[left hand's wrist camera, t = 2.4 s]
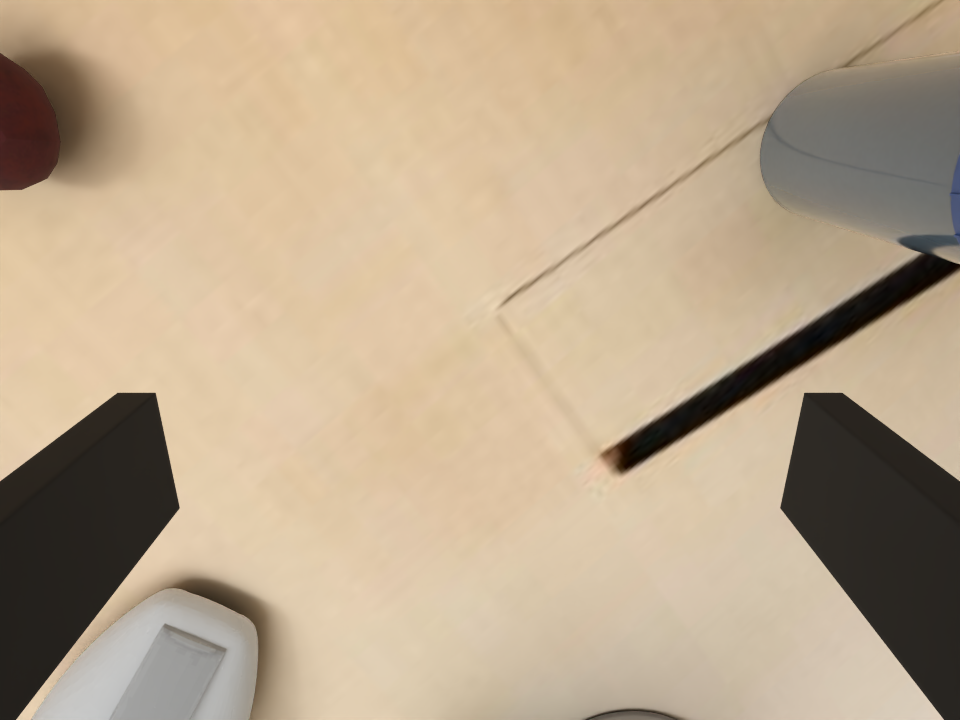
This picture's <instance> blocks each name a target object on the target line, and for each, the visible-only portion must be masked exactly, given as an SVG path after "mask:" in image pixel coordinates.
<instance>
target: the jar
mask: <svg viewBox="0 0 960 720" xmlns="http://www.w3.org/2000/svg"><path fill="white" fill-rule="evenodd" d="M959 153H960V51H955V52H948V53H942V54H935V55H928V56H921V57H914V58H907V59H900V60H893V61H886V62H879V63H872V64H865V65H858V66H851V67H844V68H837V69H832V70H828V71H824V72H822V73H819V74H817V75H815V76H813V77H811V78H809V79H807V80H805V81H804V82H803V83H801V84H800V85H798V86H797V87H796V88H795V89H793V90H792V91H791V92H790V93H789V94H788V95H787V96H786V97H785V98H784V100H783V101H782V102H781V103H780V104H779V106H778V107H777V109H776V110H775V111H774V113H773V115H772V117H771V119H770V120H769V122H768V125H767V127H766V130H765V132H764V136H763V139H762V145H761V151H760V165H761V172H762V176H763V180H764V182H765V185H766V187H767V189H768V191H769V193H770V194H771V196H772V197H773V198H774V199H775V201H776V202H777V203H778V204H779V205H781V206H782V207H783V208H785V209H786V210H788V211H789V212H791V213H793V214H796V215H798V216H802V217H805V218H808V219H812V220H815V221H818V222H822V223H825V224H828V225H832V226H835V227H838V228H842V229H845V230H848V231H852V232H855V233H858V234H862V235H865V236H868V237H871V238H875V239H878V240H881V241H885V242H888V243H891V244H895V245H898V246H901V247H905V248H908V249H911V250H915V251H918V252H921V253H925V254H928V255H931V256H935V257H938V258H941V259H945V260H948V261H951V262H955V263H958V264H960V245H959V243H958V241H957V238H955V237H954V235H955V231H954V228H953V223H952V215H951V204H950V202H951V196H949V194H950V193H951V188H952V181H953V174H954V170H955V167H956V163H957V160H958V156H959Z"/></svg>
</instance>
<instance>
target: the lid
mask: <svg viewBox="0 0 960 720" xmlns="http://www.w3.org/2000/svg"><path fill="white" fill-rule="evenodd" d="M949 196H951V202H950V204H951V215H952V223H953V228H954V231H955V235H954V237H955V238H957V241H958V243H959V245H960V153H959V156H958V160H957V163H956V167H955V170H954V174H953V181H952V188H951V193H950V194H949Z"/></svg>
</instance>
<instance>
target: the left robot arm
mask: <svg viewBox="0 0 960 720" xmlns="http://www.w3.org/2000/svg"><path fill="white" fill-rule="evenodd" d="M179 508H180V507H179V503H178V498H177V493H176V488H175V484H174V479H173V474H172V469H171V464H170V460H169V455H168V450H167V445H166V440H165V436H164V431H163V426H162V421H161V417H160V412H159V407H158V402H157V397H156V393H117V394H116V395H114V396H113V397H112V398H110V399H109V400H108V401H106V402H105V403H104V404H102V405H101V406H100V407H98V408H97V409H96V410H94V411H93V412H92V413H90V414H89V415H88V416H86V417H85V418H84V419H82V420H81V421H80V422H78V423H77V424H76V425H74V426H73V427H72V428H70V429H69V430H68V431H66V432H65V433H64V434H63V435H61V436H60V437H59V438H57V439H56V440H55V441H53V442H52V443H51V444H49V445H48V446H47V447H45V448H44V449H43V450H41V451H40V452H39V453H37V454H36V455H35V456H33V457H32V458H31V459H29V460H28V461H27V462H25V463H24V464H23V465H21V466H20V467H19V468H17V469H16V470H15V471H13V472H12V473H11V474H9V475H8V476H7V477H5V478H4V479H3V480H1V481H0V720H16V719H17V718H18V716H19V715H20V714H21V712H22V711H23V710H24V709H25V707H26V706H27V705H28V703H29V702H30V701H31V700H32V698H33V697H34V696H35V694H36V693H37V692H38V690H39V689H40V688H41V687H42V685H43V684H44V683H45V681H46V680H47V679H48V678H49V676H50V675H51V674H52V672H53V671H54V670H55V668H56V667H57V666H58V665H59V663H60V662H61V661H62V659H63V658H64V657H65V656H66V654H67V653H68V652H69V650H70V649H71V648H72V647H73V645H74V644H75V643H76V641H77V640H78V639H79V637H80V636H81V635H82V634H83V632H84V631H85V630H86V628H87V627H88V626H89V625H90V623H91V622H92V621H93V619H94V618H95V617H96V616H97V614H98V613H99V612H100V610H101V609H102V608H103V606H104V605H105V604H106V603H107V601H108V600H109V599H110V597H111V596H112V595H113V594H114V592H115V591H116V590H117V588H118V587H119V586H120V584H121V583H122V582H123V581H124V579H125V578H126V577H127V575H128V574H129V573H130V572H131V570H132V569H133V568H134V566H135V565H136V564H137V563H138V561H139V560H140V559H141V557H142V556H143V555H144V553H145V552H146V551H147V550H148V548H149V547H150V546H151V544H152V543H153V542H154V541H155V539H156V538H157V537H158V535H159V534H160V533H161V531H162V530H163V529H164V528H165V526H166V525H167V524H168V522H169V521H170V520H171V519H172V517H173V516H174V515H175V513H176V512H177V511H178V510H179ZM780 508H781V510H782V511H783V512H784V513H785V515H786V516H787V517H788V519H789V520H790V521H791V522H792V524H793V525H794V526H795V528H796V529H797V530H798V531H799V533H800V534H801V535H802V537H803V538H804V539H805V541H806V542H807V543H808V544H809V546H810V547H811V548H812V550H813V551H814V552H815V553H816V555H817V556H818V557H819V559H820V560H821V561H822V563H823V564H824V565H825V566H826V568H827V569H828V570H829V572H830V573H831V574H832V575H833V577H834V578H835V579H836V581H837V582H838V583H839V584H840V586H841V587H842V588H843V590H844V591H845V592H846V594H847V595H848V596H849V597H850V599H851V600H852V601H853V603H854V604H855V605H856V606H857V608H858V609H859V610H860V612H861V613H862V614H863V616H864V617H865V618H866V619H867V621H868V622H869V623H870V625H871V626H872V627H873V628H874V630H875V631H876V632H877V634H878V635H879V636H880V637H881V639H882V640H883V641H884V643H885V644H886V645H887V647H888V648H889V649H890V650H891V652H892V653H893V654H894V656H895V657H896V658H897V659H898V661H899V662H900V663H901V665H902V666H903V667H904V668H905V670H906V671H907V672H908V674H909V675H910V676H911V678H912V679H913V680H914V681H915V683H916V684H917V685H918V687H919V688H920V689H921V690H922V692H923V693H924V694H925V696H926V697H927V698H928V700H929V701H930V702H931V703H932V705H933V706H934V707H935V709H936V710H937V711H938V712H939V714H940V715H941V716H942V718H943V719H944V720H960V481H959V480H957V479H956V478H955V477H953V476H952V475H951V474H949V473H948V472H947V471H945V470H944V469H943V468H941V467H940V466H939V465H937V464H936V463H935V462H933V461H932V460H931V459H929V458H928V457H927V456H925V455H924V454H923V453H921V452H920V451H919V450H917V449H916V448H915V447H913V446H912V445H911V444H909V443H908V442H907V441H905V440H904V439H903V438H901V437H900V436H899V435H897V434H896V433H895V432H894V431H892V430H891V429H890V428H888V427H887V426H886V425H884V424H883V423H882V422H880V421H879V420H878V419H876V418H875V417H874V416H872V415H871V414H870V413H868V412H867V411H866V410H864V409H863V408H862V407H860V406H859V405H858V404H856V403H855V402H854V401H852V400H851V399H850V398H848V397H847V396H846V395H844V394H843V393H804V397H803V402H802V407H801V412H800V417H799V421H798V426H797V431H796V436H795V440H794V445H793V450H792V455H791V460H790V464H789V469H788V474H787V479H786V484H785V488H784V493H783V498H782V503H781V507H780ZM589 720H675V719H673V718H670V717H668V716H665V715H661V714H657V713H651V712H643V711H623V712H615V713H609V714H605V715H601V716H597V717H594V718H591V719H589Z"/></svg>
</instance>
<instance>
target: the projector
mask: <svg viewBox="0 0 960 720" xmlns="http://www.w3.org/2000/svg"><path fill="white" fill-rule="evenodd" d="M257 666H258V637H257V631H256V628H255V626H254V624H253V623H252V621H251V620H249V619H248V618H247V617H245V616H244V615H241V614H238V613H237V612H235V611H233V610H231V609H229V608H227V607H225V606H223V605H221V604H218V603H216V602H214V601H211V600H209V599H206V598H204V597H201V596H199V595H195V594H192V593H189V592H187V591H185V590H182V589H177V588H168V589H164V590H162V591H159V592H157V593H155V594H153V595H152V596H150V597H149V598H147V599H145V600H144V601H142V602H141V603H139V604H138V605H137V606H135V607H134V608H133V609H131V610H130V611H129V612H127V613H126V614H125V615H123V616H122V617H121V618H119V619H118V620H117V621H116V622H115V623H114V624H112V625H111V626H110V627H109V628H108V629H107V630H105V631H104V632H103V633H102V634H101V635H100V636H99V637H98V638H97V639H96V640H95V641H94V642H92V643H91V644H90V645H89V646H88V648H87V649H86V650H85V651H84V652H83V653H82V654H81V655H80V656H79V657H78V658H77V659H76V660H75V661H74V662H73V664H72V665H71V666H70V667H69V668H68V669H67V671H66V672H65V673H64V674H63V675H62V677H61V678H60V679H59V680H58V682H57V683H56V684H55V686H54V687H53V688H52V690H51V691H50V692H49V694H48V695H47V696H46V698H45V699H44V701H43V702H42V704H41V705H40V706H39V708H38V709H37V711H36V712H35V714H34V716H33V717H32V719H31V720H249V718H250V714H251V710H252V705H253V699H254V694H255V686H256V678H257Z"/></svg>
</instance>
